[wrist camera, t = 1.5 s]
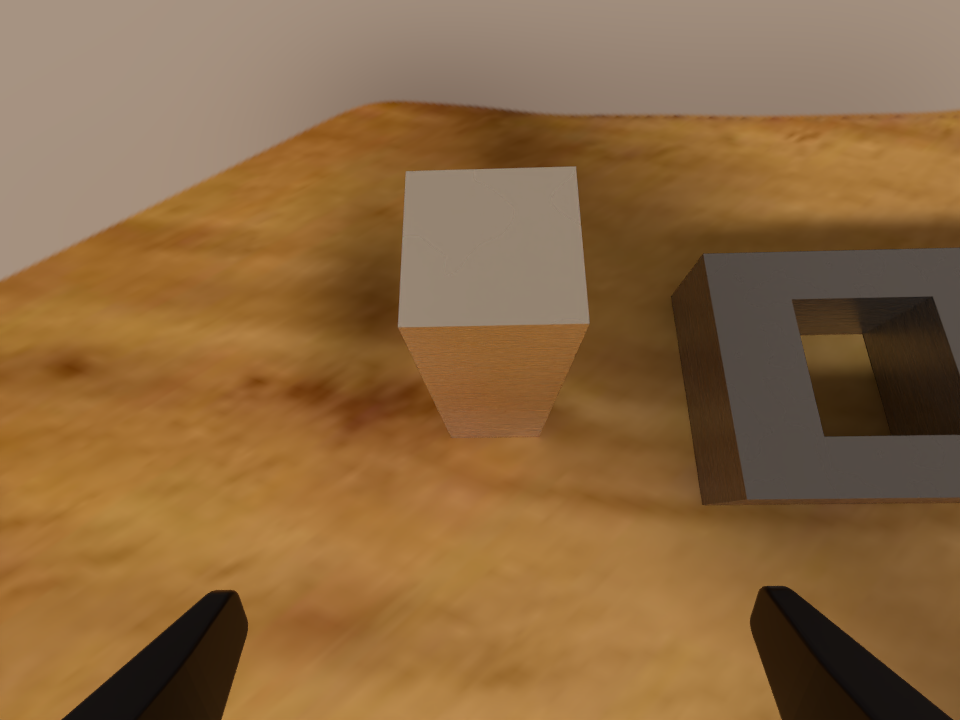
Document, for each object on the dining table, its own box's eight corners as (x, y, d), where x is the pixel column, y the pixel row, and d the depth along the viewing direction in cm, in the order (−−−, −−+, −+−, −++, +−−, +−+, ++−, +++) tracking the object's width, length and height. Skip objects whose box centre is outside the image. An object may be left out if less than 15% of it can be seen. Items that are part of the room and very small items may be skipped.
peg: (534, 354, 24) (575, 166, 12) (538, 436, 22) (589, 323, 10) (452, 355, 24) (406, 171, 12) (451, 437, 23) (398, 327, 10)
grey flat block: (1085, 287, 24) (1195, 242, 20) (1182, 500, 21) (1336, 493, 17) (671, 296, 25) (703, 253, 21) (702, 504, 21) (747, 499, 17)
